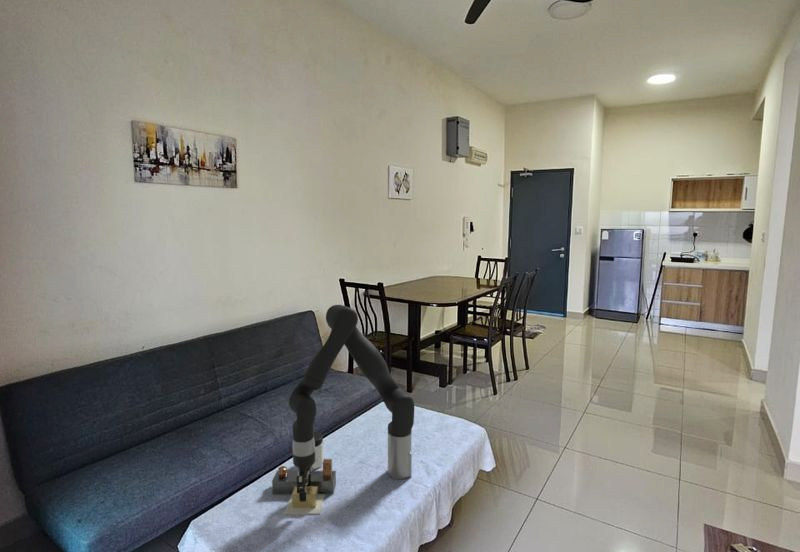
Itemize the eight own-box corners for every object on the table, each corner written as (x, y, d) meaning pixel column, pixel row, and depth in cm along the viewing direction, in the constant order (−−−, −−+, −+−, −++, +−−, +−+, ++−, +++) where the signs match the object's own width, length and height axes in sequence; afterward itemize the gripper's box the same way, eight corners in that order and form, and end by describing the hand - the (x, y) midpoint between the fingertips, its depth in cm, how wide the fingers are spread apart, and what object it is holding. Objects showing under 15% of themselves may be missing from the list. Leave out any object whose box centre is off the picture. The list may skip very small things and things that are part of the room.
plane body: (335, 483, 167) (335, 456, 165) (333, 494, 161) (332, 466, 159) (277, 483, 167) (276, 456, 165) (272, 494, 160) (271, 465, 159)
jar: (306, 472, 174) (305, 444, 172) (298, 462, 180) (297, 435, 179) (327, 465, 179) (326, 437, 177) (319, 456, 185) (318, 429, 183)
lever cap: (318, 499, 157) (317, 486, 156) (315, 507, 153) (315, 494, 152) (295, 499, 157) (294, 486, 156) (292, 507, 153) (292, 494, 152)
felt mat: (324, 495, 160) (324, 494, 160) (320, 514, 150) (320, 513, 150) (291, 495, 160) (291, 494, 160) (284, 514, 150) (284, 513, 150)
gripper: (310, 461, 145) (312, 506, 147) (318, 438, 159) (319, 480, 161) (287, 461, 145) (289, 506, 147) (297, 438, 159) (299, 480, 161)
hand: (305, 492), depth 154 cm, fingers open, 8 cm apart
